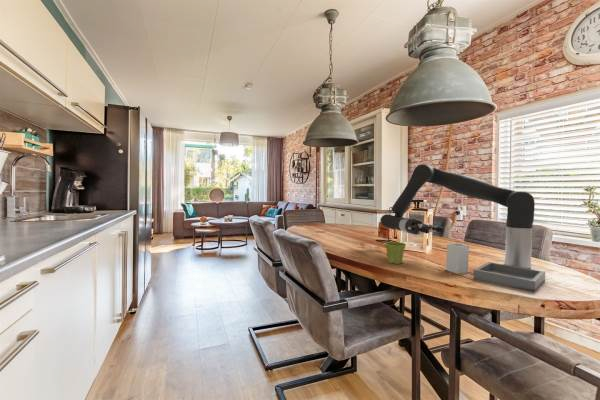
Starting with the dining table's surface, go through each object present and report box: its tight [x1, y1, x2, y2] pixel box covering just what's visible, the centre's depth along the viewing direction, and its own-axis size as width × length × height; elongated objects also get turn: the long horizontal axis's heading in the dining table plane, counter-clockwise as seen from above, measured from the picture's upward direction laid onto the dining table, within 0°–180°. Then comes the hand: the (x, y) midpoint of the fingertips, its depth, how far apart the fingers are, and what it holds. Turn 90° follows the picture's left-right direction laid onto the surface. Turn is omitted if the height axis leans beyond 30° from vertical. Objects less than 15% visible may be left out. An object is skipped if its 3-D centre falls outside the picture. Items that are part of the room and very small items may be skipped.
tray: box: [473, 261, 546, 293], centre depth 106 cm, size 18×18×4 cm
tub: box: [445, 242, 470, 275], centre depth 116 cm, size 6×6×11 cm
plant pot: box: [383, 241, 407, 265], centre depth 130 cm, size 9×9×9 cm
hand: (436, 230), depth 127 cm, fingers open, 8 cm apart
